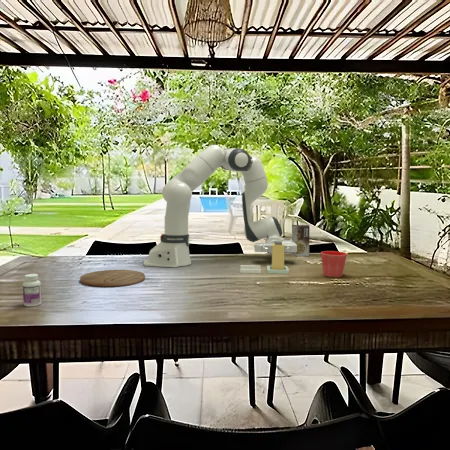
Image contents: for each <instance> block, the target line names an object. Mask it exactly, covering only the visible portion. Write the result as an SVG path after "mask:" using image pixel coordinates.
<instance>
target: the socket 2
mask: <svg viewBox="0 0 450 450" xmlns="http://www.w3.org/2000/svg"><path fill="white" fill-rule="evenodd" d="M266 271H267V274H280V275H282V274H283V275H285V274H287V275H288V274H290V269H289V267H288V266H287V265H284V270H272V265H266Z"/></svg>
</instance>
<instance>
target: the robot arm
mask: <svg viewBox="0 0 450 450" xmlns="http://www.w3.org/2000/svg"><path fill="white" fill-rule="evenodd" d="M219 168H222V169H223V170H225V171H229V172H240V173H241V175H242V177H243V181H244V187H245V188H244V191H243V192H242V194H241V202H242V203H241V204H242V214H243V221H244V223H243V224H244V226H243V227H244V229H243V230H244V236H245V239H246V240H248V241H249V242H252V243H254V245H253V247H254V252H256V253H269V254H270V255H272V244H274V241H282V244H284V245H285V246H284V254H292V252H294V253H295V252H297V244H296V243H295V242H293V241H292V239H289V238H282V235H283V229H282V226H281V224H280V222H279V220H278V218H277V217H275V216H269V217H266V218H263V219H259V220H256V221H252V209H251V208H252V207H251V206H252V204H253V203H254V202H255V201H256V200H258V199H260V197H262V196H263V195H264V194H265V193H266V192H267V189H268V188H269V187H268V186H269V183H268V179H267V175H266V171H265V169H264V166H263V164H262V162H261V160H260V158H258V157H257V156H251V155H250V154H249V153H248V151H246V150H245V149H243V148H238V147H236V148H235V147H231V148H225V149H223V148H222V147H221V146H219V145H217V144H210V145H209V146H207V147H206V148H205V149H203V150H202V151H201V152H200V153H199V154H197V156H195V157H194V158H193V159H192V161H191V162H189V163H188V164H187V165H186V166H185V167H184V168H183V169H182V170H181V171H179V172H178V173H177V174H176V175H175V176H173V177H172V178H171V179H170V180H169V181H168V182H167V183H165V184H164V185H163V187H162V190H161V194H162V198H163V199H164V201H165V202H166V208H165V213H164V214H165V215H164V233H162V234H161V235H160V238H159V241H160V242H159V243H157V244H156V245H155V246H153V248H151V249H150V250H149V253H148V258H147V259H145V260H144V261H143V266H146V267H160V268H178V267H185V266H189V265H192V259H191V255H190V249H189V246H190V234H189V214H190V213H189V212H190V210H191V209H190V208H191V207H190V206H191V198H192V197H193V196H192V195H193V191H195V190H197V189H198V188H199V187H200V186H201V185H203V183H205V182H206V181H207V180H208V179H209V178H210V177H211V176H212V175H213V174H214V173H215V172H216V170H218V169H219ZM264 239H265V242H258V241H260V240H264ZM255 242H256V243H255Z"/></svg>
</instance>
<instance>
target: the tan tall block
mask: <svg viewBox="0 0 450 450" xmlns="http://www.w3.org/2000/svg"><path fill="white" fill-rule="evenodd" d="M284 246H285V245H284V244H282V241H274V244H272V254H271V266H272V270H284V266H285V253H284Z"/></svg>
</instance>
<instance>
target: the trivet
mask: <svg viewBox="0 0 450 450" xmlns="http://www.w3.org/2000/svg"><path fill="white" fill-rule="evenodd" d="M145 279H146V275H145V273H143V272H142V271H138V270H133V269H105V270H98V271H91V272H87V273H84V274H82V275H81V276H80V282H79V283H80V284H82V285H84V286H86V287H92V288H121V287H129V286H134V285H138V284H140V283H142V282H144V281H145Z"/></svg>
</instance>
